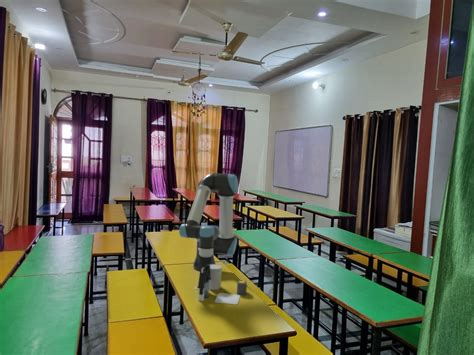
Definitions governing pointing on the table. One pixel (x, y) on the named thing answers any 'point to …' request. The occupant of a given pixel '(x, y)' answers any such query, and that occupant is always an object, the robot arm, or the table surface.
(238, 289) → the relay block
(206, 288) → the cylinder
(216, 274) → the cup
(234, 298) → the mat
